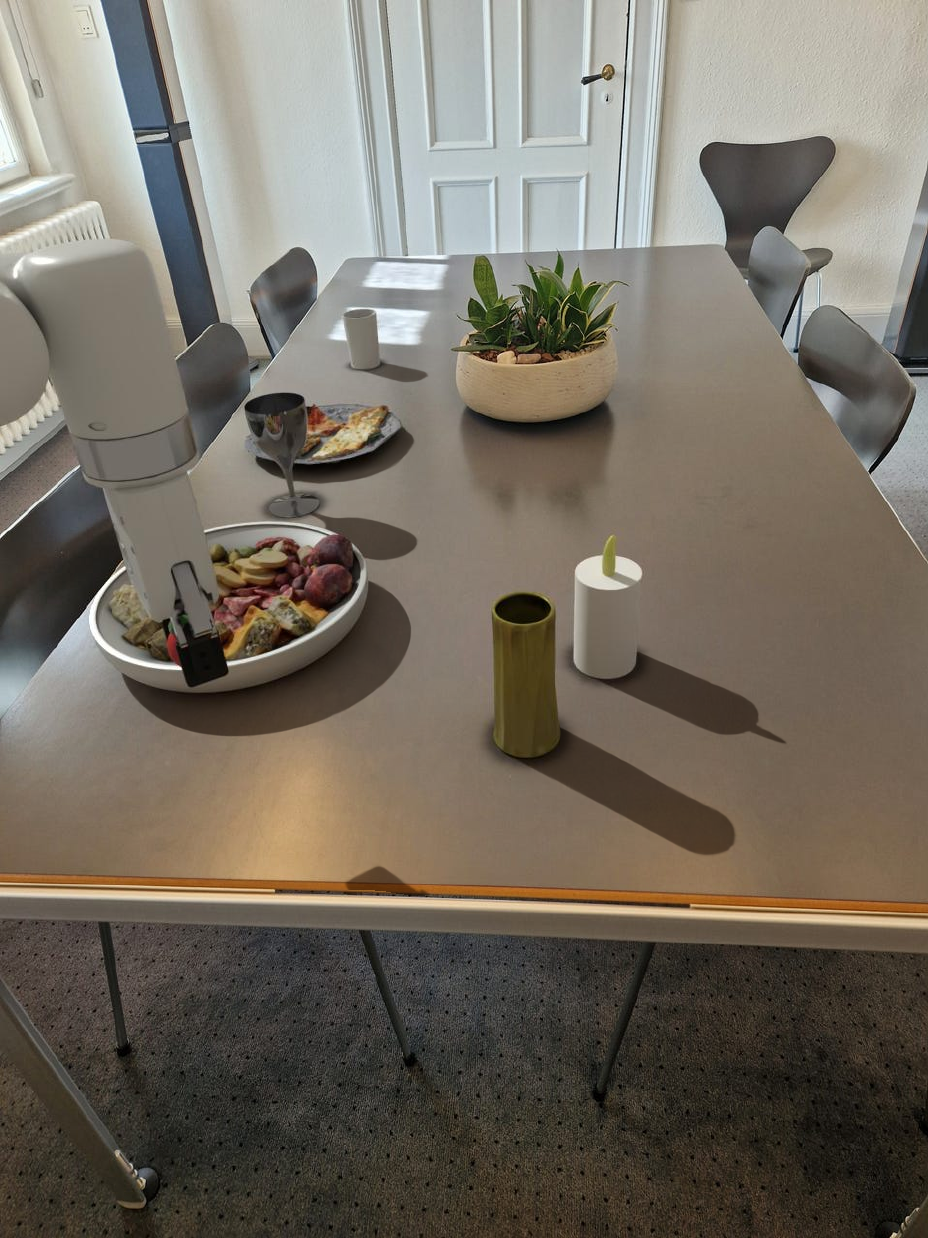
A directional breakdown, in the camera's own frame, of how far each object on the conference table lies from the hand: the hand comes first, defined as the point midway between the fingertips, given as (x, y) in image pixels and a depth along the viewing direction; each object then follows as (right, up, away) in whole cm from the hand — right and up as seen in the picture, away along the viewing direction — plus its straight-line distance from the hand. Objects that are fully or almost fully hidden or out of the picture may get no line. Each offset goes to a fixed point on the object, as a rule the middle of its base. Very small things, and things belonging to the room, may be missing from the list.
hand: (199, 662), depth 66 cm
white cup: (+1, +54, +104) cm, 117 cm away
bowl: (-5, +3, +30) cm, 31 cm away
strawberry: (0, 0, 0) cm, 1 cm away
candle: (+35, -1, +20) cm, 41 cm away
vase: (+26, -8, +12) cm, 30 cm away
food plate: (-2, +32, +71) cm, 78 cm away
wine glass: (-3, +19, +54) cm, 57 cm away
